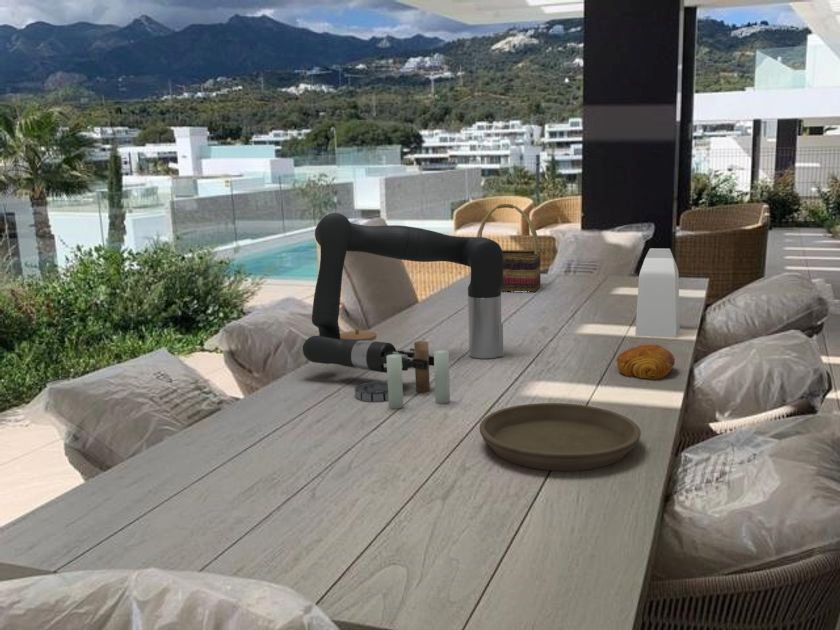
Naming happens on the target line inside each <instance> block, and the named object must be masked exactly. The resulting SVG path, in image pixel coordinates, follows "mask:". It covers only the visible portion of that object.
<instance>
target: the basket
mask: <svg viewBox="0 0 840 630" xmlns="http://www.w3.org/2000/svg"><path fill="white" fill-rule="evenodd" d="M503 208H504V209H506V208H509V209H512V210H513V209H515V210H516V211H517V212H518V213H520V214H521V215H522V216H523V218H524V219H525V221H526V222H527V223H528V226H529V229H530V232H531V235H532V243H533V249H516V250H515V249H514V250H512V249H508V250H507V249H505V250H503V249H502V252H503V285H502V288H501V291H527V292H528V291H529V292H534V293H535V292H537V291H538V290H539V289H540V288H541V286H542V285H541V284H542V283H541V253H542V250H541V249H540V246H539V245H540V244H539V240H538V239H539V238H538V233H537V230H536V228H535V225H534V223H533V221H532V220H531V219H530V217H529V215H527V213H526V212H525V211H523V210H522V209H521V208H519V207H518V206H517V205H513V204H511V203H501V204H497V205H496V206H495V207H493V208H492V209H491V210H490V211H489V212H488V213H487V214H486V216H484V218H483V220H482V221H481V223H480V226H479V228H478V230H477V235H476V237H483V231H484V228H485V226H486V223H487V221H488V219H489V218H490V217H491V215H492V214H493V213H494V212H495V211H496V210H497V209H498V210H499V209H503ZM539 287H540V288H539ZM538 288H539V289H538ZM537 289H538V290H537Z"/></svg>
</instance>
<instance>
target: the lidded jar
mask: <svg viewBox="0 0 840 630" xmlns="http://www.w3.org/2000/svg"><path fill="white" fill-rule="evenodd" d="M340 338H341V340H359V341H377V333H376V332H375V331H372V330H371V331H370V330H360V328H355V330H350V331H345V332H342V333H341V332H340Z"/></svg>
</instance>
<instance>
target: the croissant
mask: <svg viewBox="0 0 840 630" xmlns="http://www.w3.org/2000/svg"><path fill="white" fill-rule="evenodd" d="M615 361H616V364H617V370H618V372H620V373H621V374H623V375H624V376H626V377H629V378H634V377H636V378H638V379H645V380H646V379H647V380H661V379H663V378H664V377H666V376H667V375H669V373H670V372H671V370H672V368H673V367H674V366H675V364H676V362H675V361H676V360H675V357H674V354H673V353H671V351H670V350H668V349H666V348H664V347H663V346H661V345H658V344H642V345H638V346H635V347H631V348H628V349H627V350H624V351H623V352H622V353H620V354H619V355H618V356H617V358H616V360H615Z"/></svg>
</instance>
